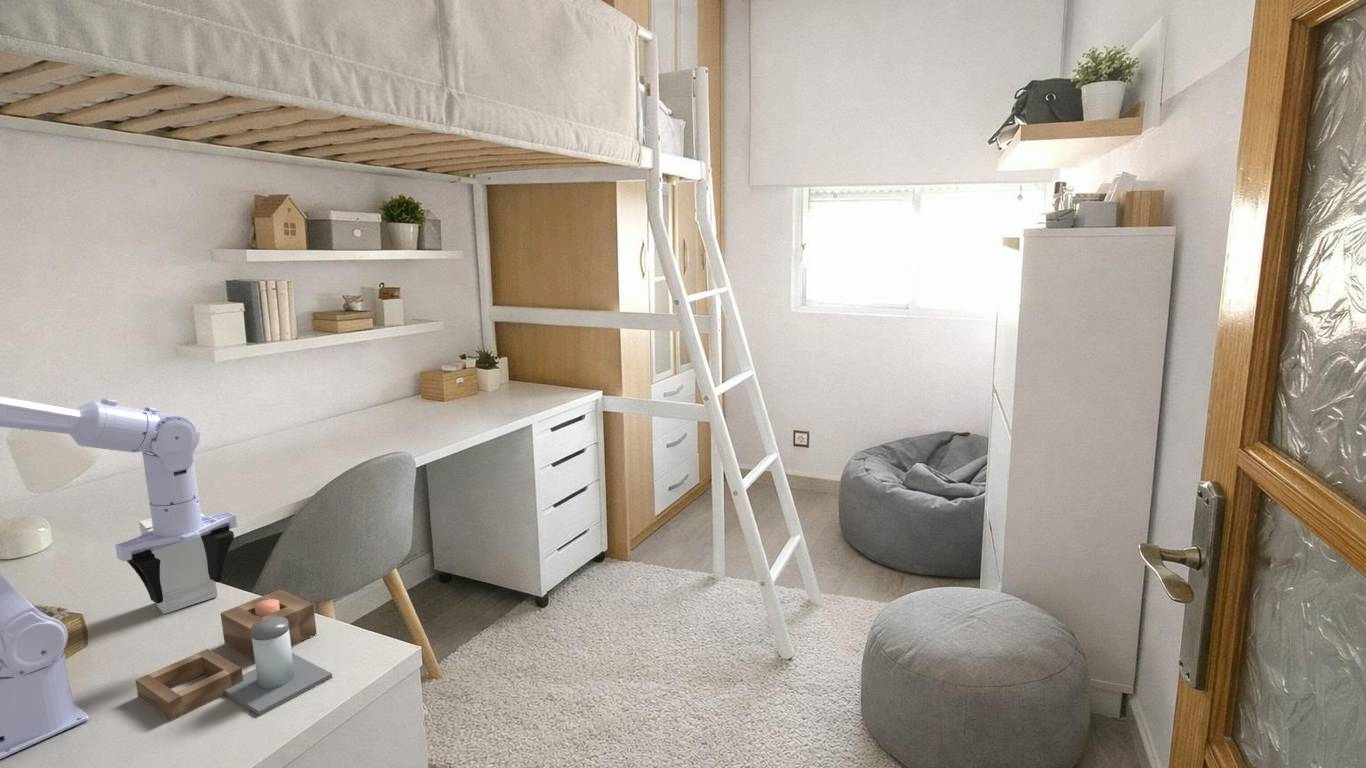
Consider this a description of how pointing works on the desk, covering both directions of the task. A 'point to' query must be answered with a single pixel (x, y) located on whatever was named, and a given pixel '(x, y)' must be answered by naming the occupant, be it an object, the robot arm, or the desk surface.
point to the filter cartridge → (272, 652)
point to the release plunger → (266, 607)
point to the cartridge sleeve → (178, 703)
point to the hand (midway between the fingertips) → (187, 590)
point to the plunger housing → (244, 618)
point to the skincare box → (182, 573)
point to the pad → (268, 699)
